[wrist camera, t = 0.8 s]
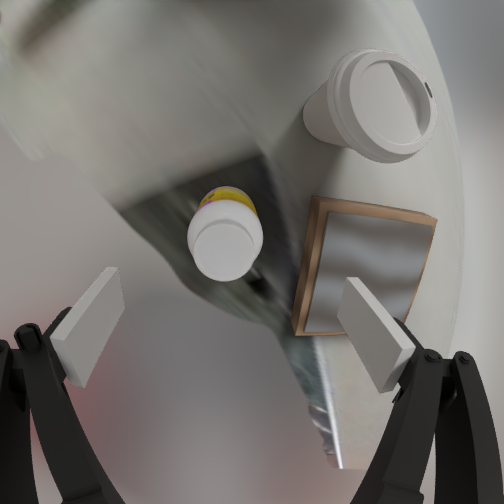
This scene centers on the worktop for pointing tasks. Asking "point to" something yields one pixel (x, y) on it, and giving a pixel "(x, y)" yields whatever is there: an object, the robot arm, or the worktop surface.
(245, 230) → the supplement bottle
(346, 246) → the plinth
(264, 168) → the worktop surface
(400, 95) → the coffee cup
